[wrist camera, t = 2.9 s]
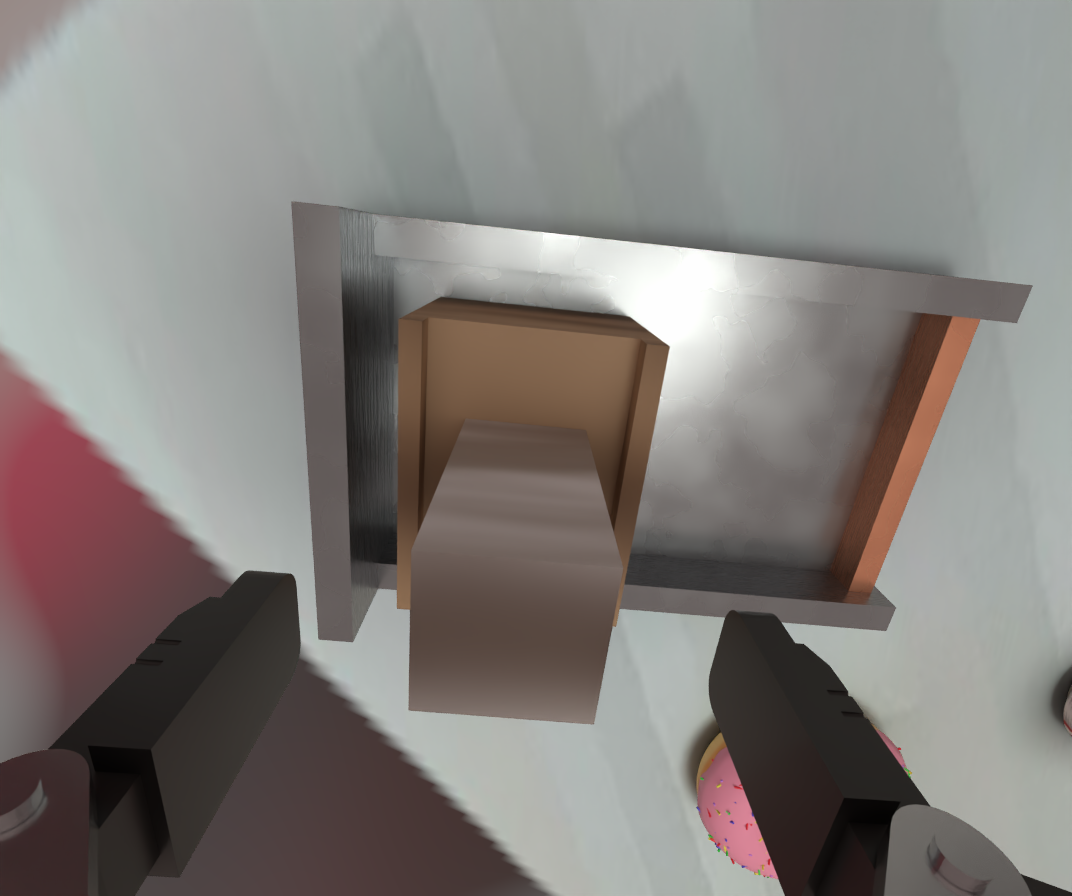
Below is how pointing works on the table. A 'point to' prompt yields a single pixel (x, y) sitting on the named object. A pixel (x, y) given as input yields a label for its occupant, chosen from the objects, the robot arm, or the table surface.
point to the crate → (518, 500)
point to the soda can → (1068, 712)
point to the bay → (683, 413)
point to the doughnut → (738, 808)
